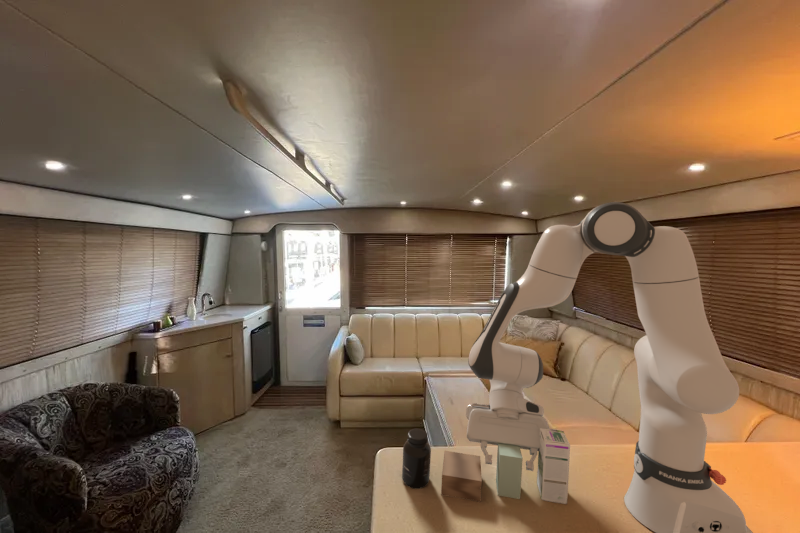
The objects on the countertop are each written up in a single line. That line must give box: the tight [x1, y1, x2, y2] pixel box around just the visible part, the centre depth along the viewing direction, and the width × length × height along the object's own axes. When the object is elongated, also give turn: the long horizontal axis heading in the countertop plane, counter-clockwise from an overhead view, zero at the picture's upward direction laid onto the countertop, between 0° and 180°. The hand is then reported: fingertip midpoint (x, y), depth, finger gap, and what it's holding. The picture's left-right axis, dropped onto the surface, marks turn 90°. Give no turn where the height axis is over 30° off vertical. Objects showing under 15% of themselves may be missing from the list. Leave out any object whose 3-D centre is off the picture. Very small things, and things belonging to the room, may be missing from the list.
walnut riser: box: [440, 450, 483, 503], centre depth 81 cm, size 9×9×5 cm
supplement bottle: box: [401, 428, 432, 490], centre depth 82 cm, size 7×7×12 cm
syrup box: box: [536, 428, 571, 505], centre depth 78 cm, size 6×6×14 cm
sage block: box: [495, 443, 524, 500], centre depth 80 cm, size 5×5×10 cm
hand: (509, 466), depth 79 cm, fingers open, 8 cm apart
